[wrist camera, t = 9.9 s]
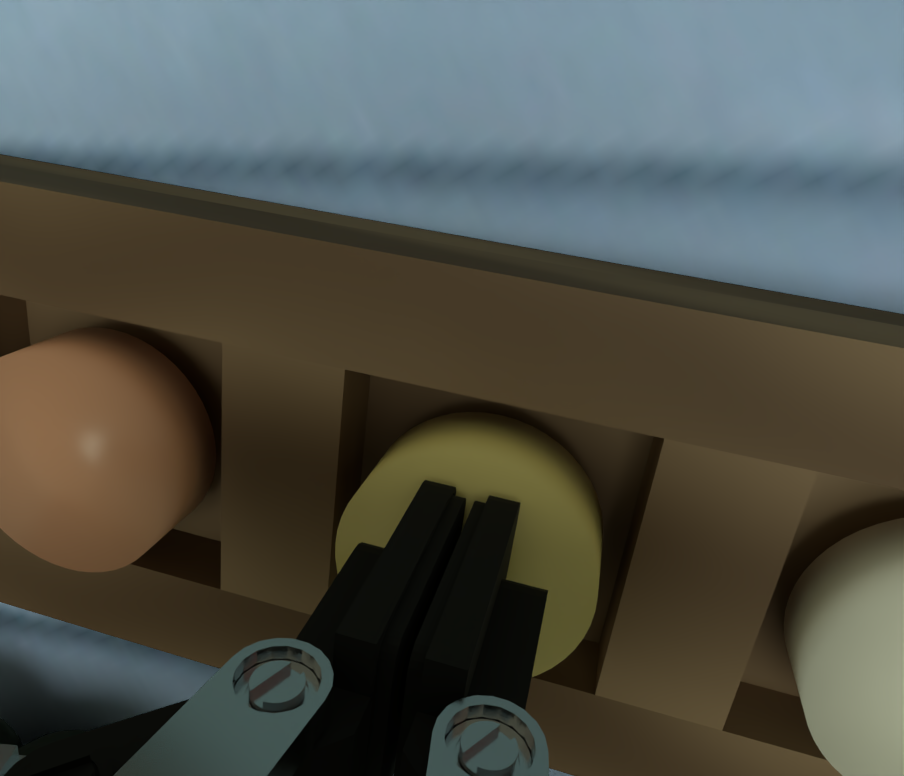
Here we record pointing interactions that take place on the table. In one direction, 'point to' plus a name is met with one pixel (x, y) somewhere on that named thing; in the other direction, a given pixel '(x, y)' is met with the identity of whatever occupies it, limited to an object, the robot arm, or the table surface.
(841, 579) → the cream button
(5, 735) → the squash
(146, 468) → the terracotta button
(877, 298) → the table surface
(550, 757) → the button panel
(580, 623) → the mustard button
